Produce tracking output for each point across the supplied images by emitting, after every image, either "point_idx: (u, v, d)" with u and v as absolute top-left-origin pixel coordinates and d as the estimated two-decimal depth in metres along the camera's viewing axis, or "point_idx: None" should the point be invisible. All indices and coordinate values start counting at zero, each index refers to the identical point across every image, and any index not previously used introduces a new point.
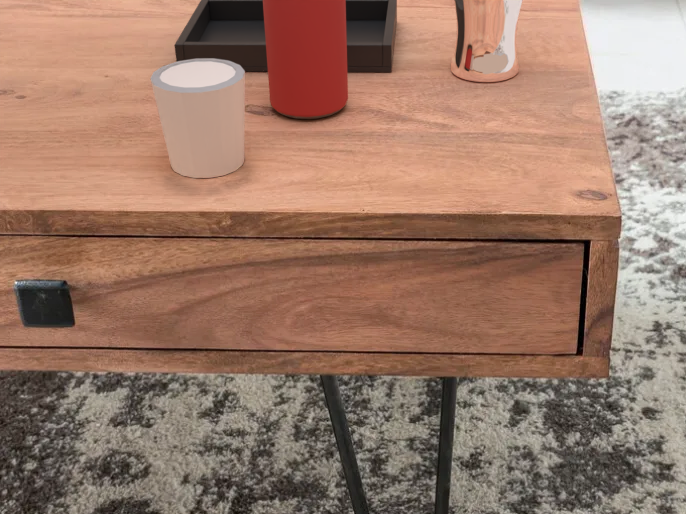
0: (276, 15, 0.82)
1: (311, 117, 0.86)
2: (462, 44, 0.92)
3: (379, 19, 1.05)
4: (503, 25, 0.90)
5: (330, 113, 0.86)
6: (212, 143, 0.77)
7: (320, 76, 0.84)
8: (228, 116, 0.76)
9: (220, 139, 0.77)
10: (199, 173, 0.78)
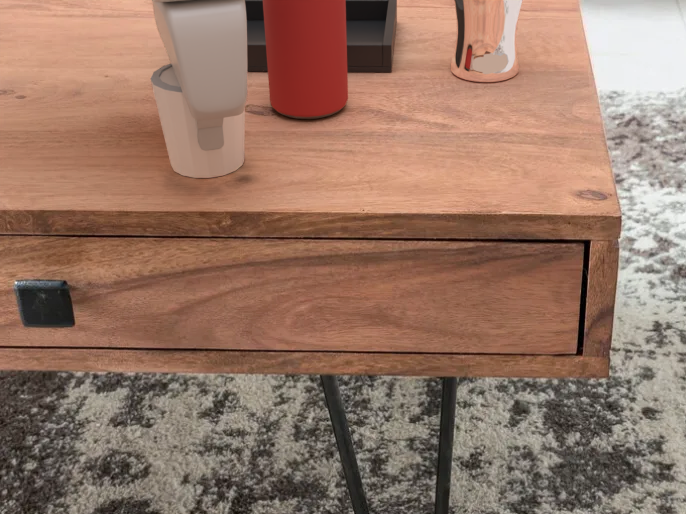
0: (276, 15, 0.82)
1: (311, 117, 0.86)
2: (462, 44, 0.92)
3: (379, 19, 1.05)
4: (503, 25, 0.90)
5: (330, 113, 0.86)
6: None
7: (320, 76, 0.84)
8: None
9: None
10: (199, 173, 0.78)
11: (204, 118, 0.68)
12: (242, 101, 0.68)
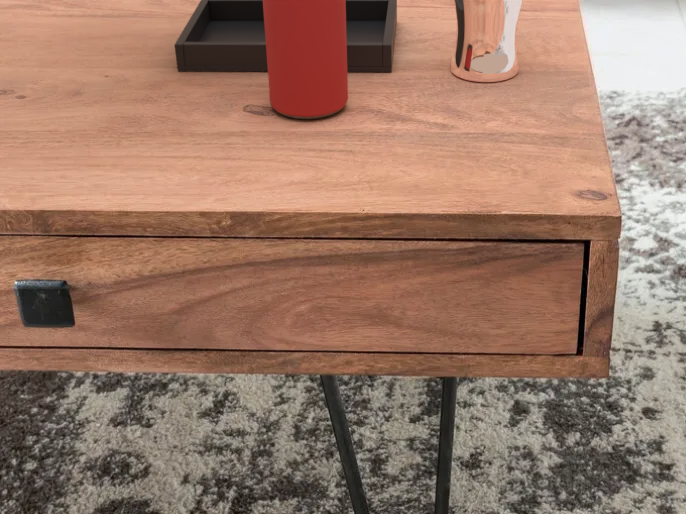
0: (275, 15, 0.82)
1: (311, 117, 0.86)
2: (462, 44, 0.92)
3: (379, 19, 1.05)
4: (503, 25, 0.90)
5: (330, 113, 0.86)
6: None
7: (320, 76, 0.84)
8: None
9: None
10: None
11: None
12: None
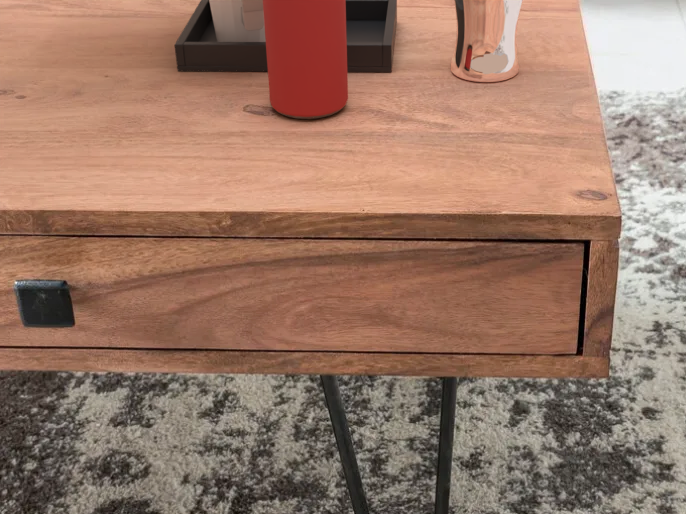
0: (275, 15, 0.82)
1: (311, 117, 0.86)
2: (462, 44, 0.92)
3: (379, 19, 1.05)
4: (503, 25, 0.90)
5: (330, 113, 0.86)
6: None
7: (320, 76, 0.84)
8: None
9: None
10: None
11: None
12: None
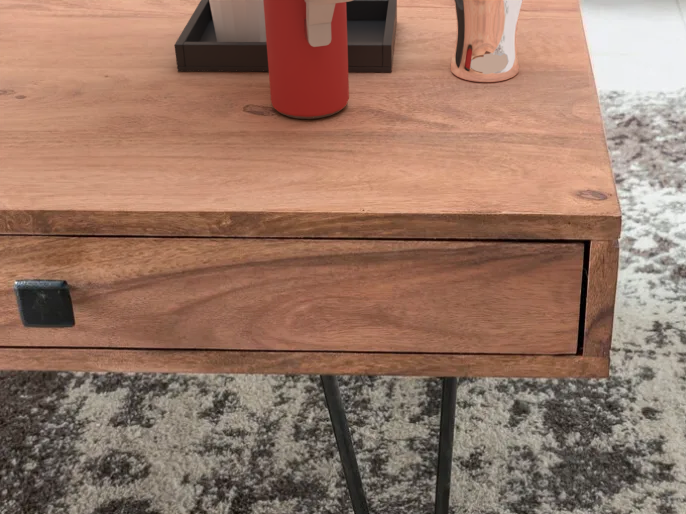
0: (276, 15, 0.82)
1: (312, 117, 0.86)
2: (462, 44, 0.92)
3: (379, 19, 1.05)
4: (503, 25, 0.90)
5: (331, 113, 0.86)
6: (251, 20, 0.97)
7: (321, 76, 0.84)
8: None
9: (258, 17, 0.97)
10: None
11: (321, 3, 0.74)
12: None
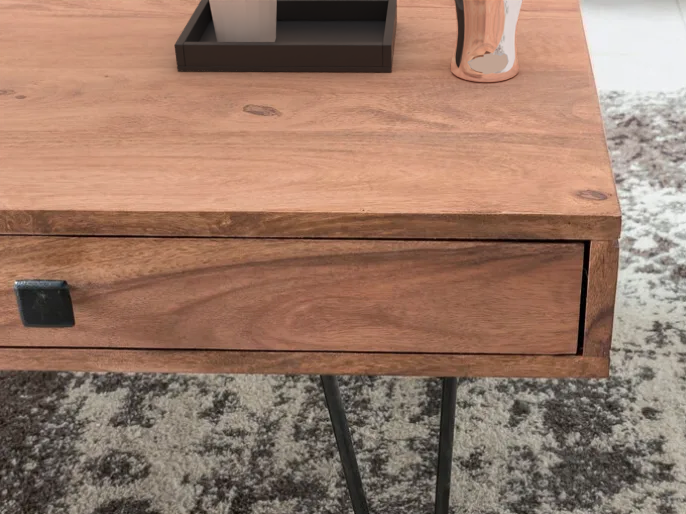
0: None
1: None
2: (462, 44, 0.92)
3: (379, 19, 1.05)
4: (503, 25, 0.90)
5: None
6: (251, 20, 0.97)
7: None
8: None
9: (258, 18, 0.97)
10: None
11: None
12: None
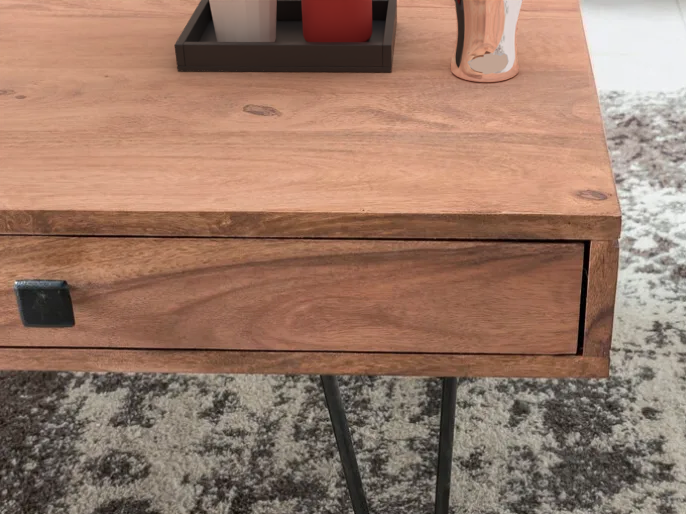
0: None
1: None
2: (462, 44, 0.92)
3: (379, 19, 1.05)
4: (503, 25, 0.90)
5: None
6: (251, 20, 0.97)
7: (349, 10, 0.96)
8: None
9: (258, 18, 0.97)
10: None
11: None
12: None
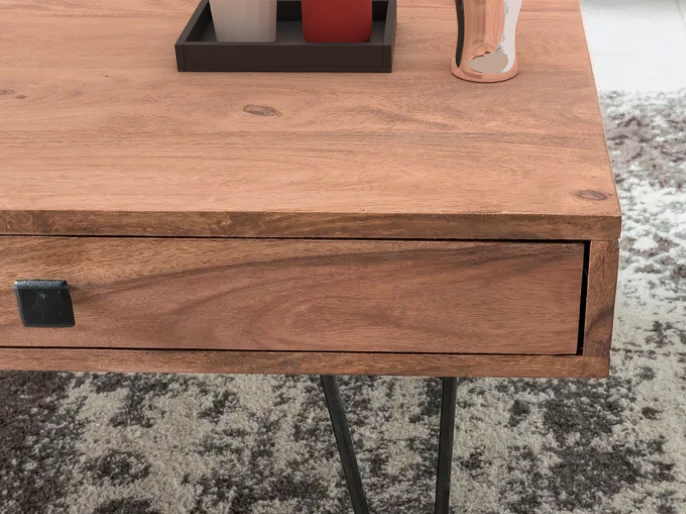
0: None
1: None
2: (462, 44, 0.92)
3: (379, 19, 1.05)
4: (503, 25, 0.90)
5: None
6: (251, 20, 0.97)
7: (349, 10, 0.96)
8: None
9: (258, 18, 0.97)
10: None
11: None
12: None
